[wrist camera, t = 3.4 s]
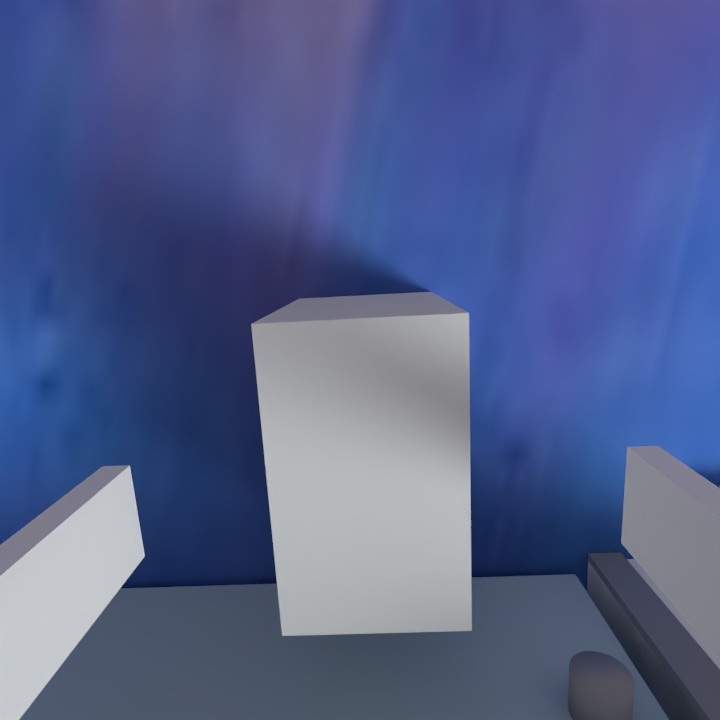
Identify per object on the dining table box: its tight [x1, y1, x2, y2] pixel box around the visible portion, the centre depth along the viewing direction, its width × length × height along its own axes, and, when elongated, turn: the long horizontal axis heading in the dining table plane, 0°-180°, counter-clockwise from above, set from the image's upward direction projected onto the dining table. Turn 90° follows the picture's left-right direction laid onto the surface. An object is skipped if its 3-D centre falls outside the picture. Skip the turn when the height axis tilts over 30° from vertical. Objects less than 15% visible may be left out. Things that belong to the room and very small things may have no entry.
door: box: [19, 574, 669, 720], centre depth 18 cm, size 26×3×14 cm, turn 93°
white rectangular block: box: [251, 292, 472, 636], centre depth 19 cm, size 6×10×9 cm, turn 3°
